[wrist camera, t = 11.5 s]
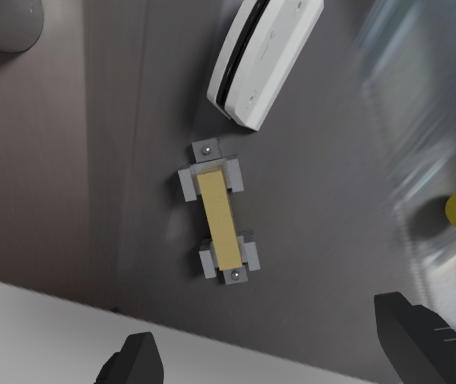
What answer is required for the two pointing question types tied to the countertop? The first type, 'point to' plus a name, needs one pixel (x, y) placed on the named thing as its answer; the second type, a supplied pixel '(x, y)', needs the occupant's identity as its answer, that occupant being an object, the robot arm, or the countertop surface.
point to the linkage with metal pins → (211, 158)
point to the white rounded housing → (260, 56)
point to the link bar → (220, 217)
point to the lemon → (451, 209)
